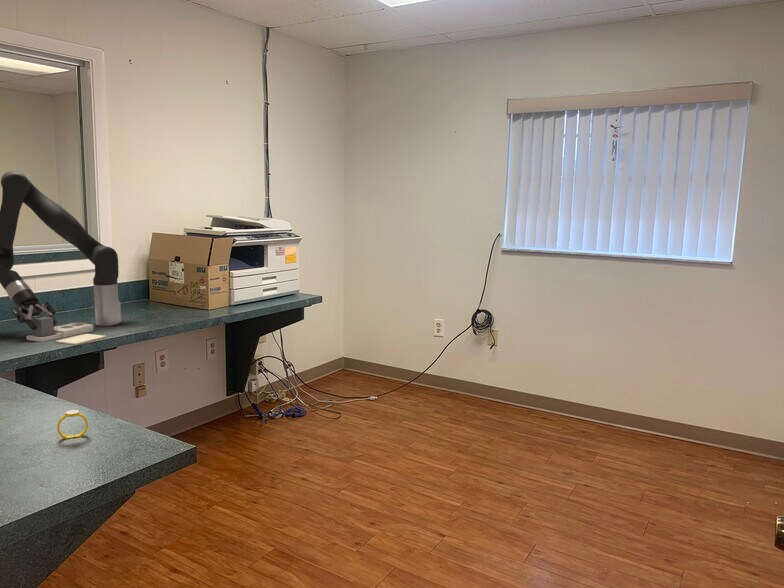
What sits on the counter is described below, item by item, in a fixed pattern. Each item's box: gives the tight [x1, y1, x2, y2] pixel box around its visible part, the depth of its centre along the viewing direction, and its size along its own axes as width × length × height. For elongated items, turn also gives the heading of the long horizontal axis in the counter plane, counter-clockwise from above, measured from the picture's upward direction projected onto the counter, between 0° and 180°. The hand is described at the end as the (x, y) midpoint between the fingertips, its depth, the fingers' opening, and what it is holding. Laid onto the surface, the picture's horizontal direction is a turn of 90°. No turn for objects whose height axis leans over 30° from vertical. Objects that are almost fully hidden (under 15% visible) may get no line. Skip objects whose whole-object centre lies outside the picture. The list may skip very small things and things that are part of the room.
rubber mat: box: [55, 333, 107, 346], centre depth 226 cm, size 14×10×1 cm
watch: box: [56, 409, 89, 440], centre depth 133 cm, size 6×3×6 cm, turn 119°
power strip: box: [26, 321, 94, 343], centre depth 233 cm, size 22×10×3 cm, turn 159°
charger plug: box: [32, 316, 55, 338], centre depth 227 cm, size 5×4×8 cm
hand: (45, 326), depth 226 cm, fingers open, 8 cm apart
